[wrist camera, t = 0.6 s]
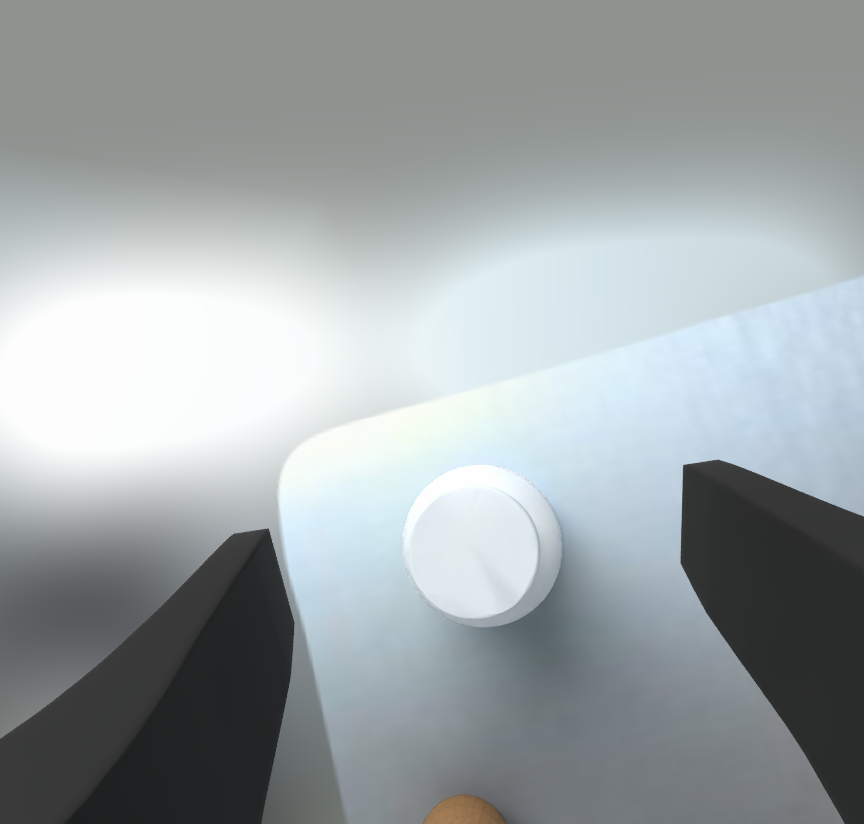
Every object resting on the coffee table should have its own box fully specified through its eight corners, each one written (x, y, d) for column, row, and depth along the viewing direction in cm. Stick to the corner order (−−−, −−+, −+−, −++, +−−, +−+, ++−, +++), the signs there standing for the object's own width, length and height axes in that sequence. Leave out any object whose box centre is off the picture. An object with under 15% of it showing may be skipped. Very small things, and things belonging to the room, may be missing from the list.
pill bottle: (541, 461, 34) (546, 441, 22) (568, 585, 33) (587, 630, 21) (422, 485, 35) (368, 477, 23) (444, 606, 34) (399, 661, 22)
